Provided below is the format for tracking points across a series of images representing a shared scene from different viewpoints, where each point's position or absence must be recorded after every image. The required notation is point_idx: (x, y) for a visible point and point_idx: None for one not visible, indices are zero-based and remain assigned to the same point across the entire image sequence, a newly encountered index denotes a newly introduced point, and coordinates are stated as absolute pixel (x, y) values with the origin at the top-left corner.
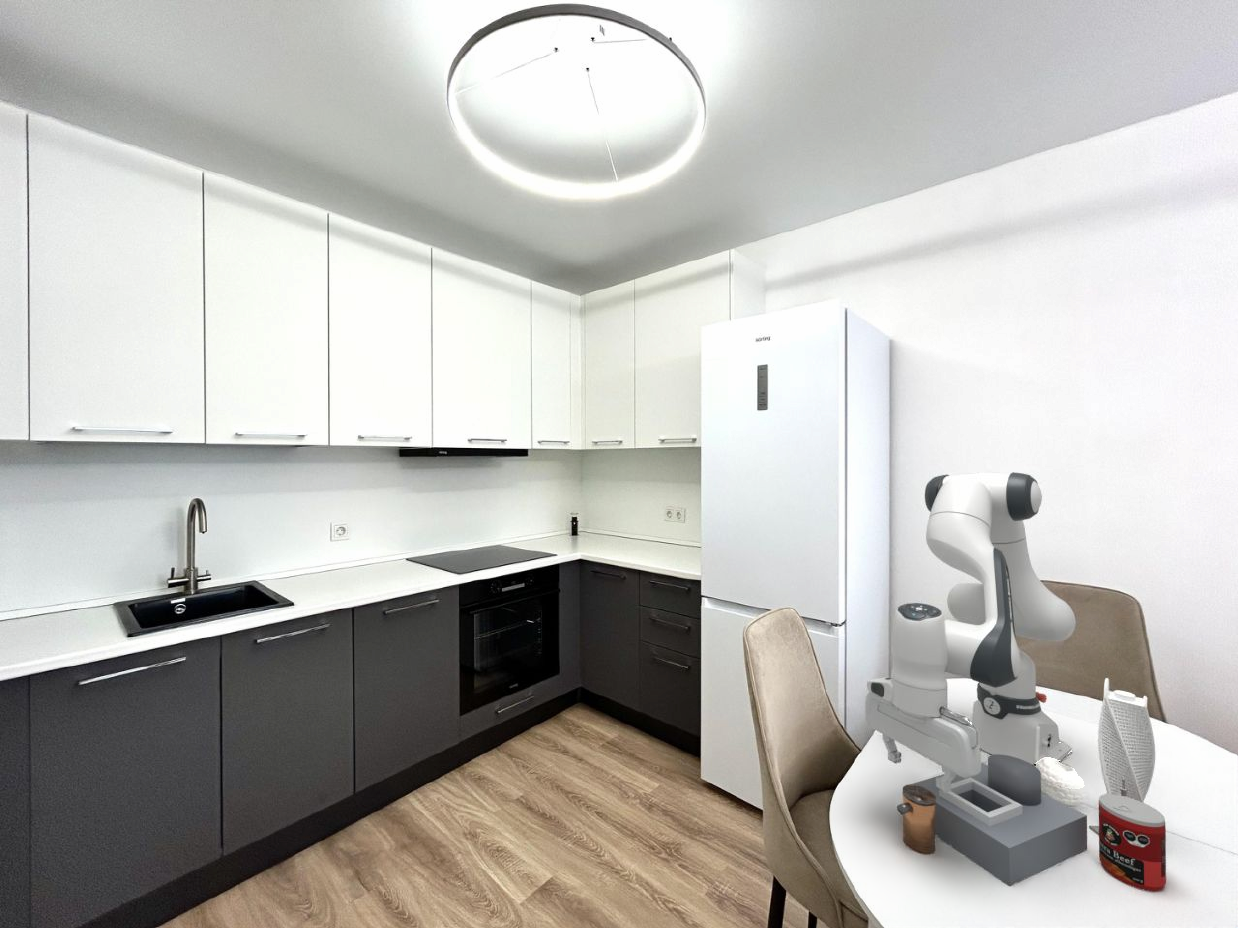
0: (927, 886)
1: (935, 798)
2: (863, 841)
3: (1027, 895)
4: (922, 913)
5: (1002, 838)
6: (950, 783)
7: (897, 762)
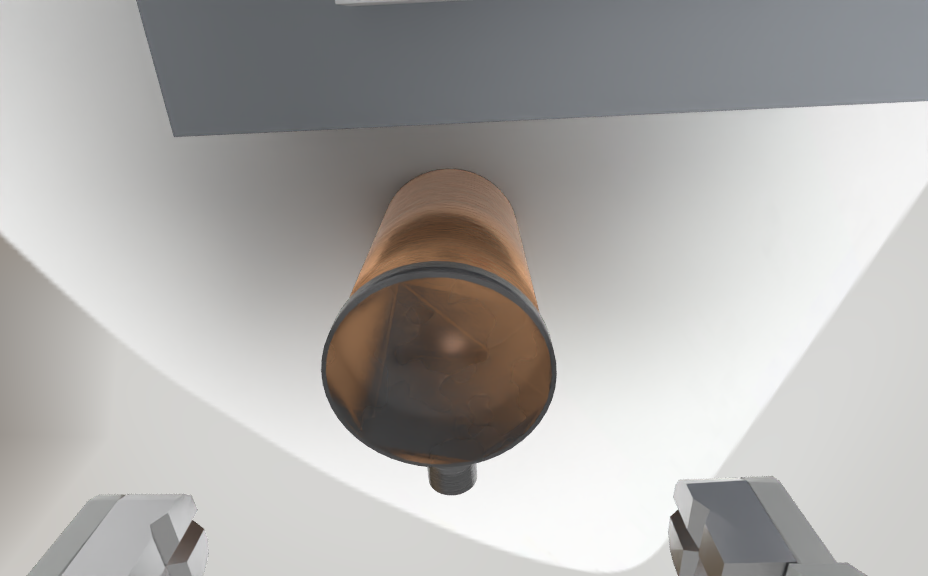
0: (627, 394)
1: (536, 322)
2: None
3: None
4: None
5: (897, 39)
6: (813, 536)
7: (192, 520)
